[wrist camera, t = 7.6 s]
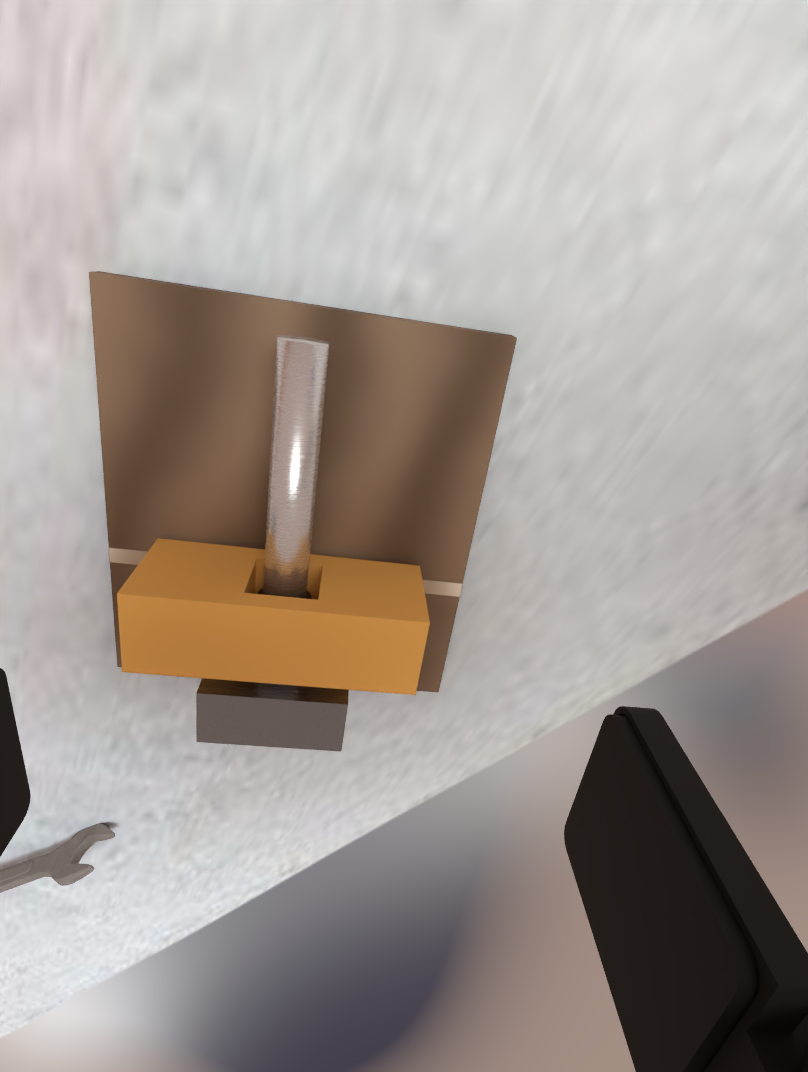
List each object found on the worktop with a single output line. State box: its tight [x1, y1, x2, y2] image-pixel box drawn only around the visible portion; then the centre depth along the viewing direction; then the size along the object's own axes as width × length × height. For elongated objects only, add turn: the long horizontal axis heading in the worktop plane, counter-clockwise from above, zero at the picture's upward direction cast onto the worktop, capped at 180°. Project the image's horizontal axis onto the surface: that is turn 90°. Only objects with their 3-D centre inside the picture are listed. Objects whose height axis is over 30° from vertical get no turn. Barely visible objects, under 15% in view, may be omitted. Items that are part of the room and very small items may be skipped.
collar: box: [117, 538, 430, 695], centre depth 28 cm, size 13×4×5 cm, turn 82°
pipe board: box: [89, 271, 517, 692], centre depth 29 cm, size 18×20×1 cm
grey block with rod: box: [197, 335, 348, 751], centre depth 27 cm, size 7×19×5 cm, turn 172°
